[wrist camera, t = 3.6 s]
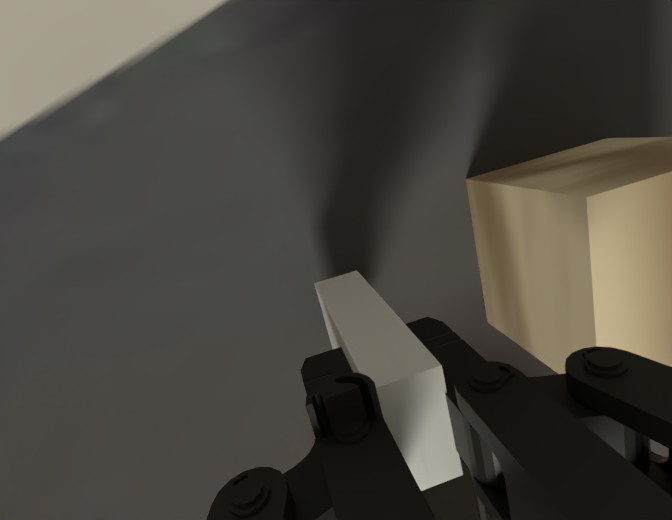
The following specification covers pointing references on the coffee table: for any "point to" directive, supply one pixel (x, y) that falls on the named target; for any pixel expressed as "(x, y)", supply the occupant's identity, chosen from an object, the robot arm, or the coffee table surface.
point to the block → (579, 249)
